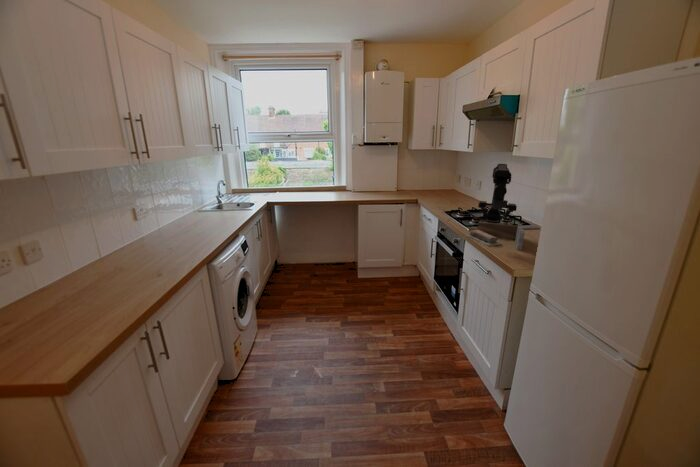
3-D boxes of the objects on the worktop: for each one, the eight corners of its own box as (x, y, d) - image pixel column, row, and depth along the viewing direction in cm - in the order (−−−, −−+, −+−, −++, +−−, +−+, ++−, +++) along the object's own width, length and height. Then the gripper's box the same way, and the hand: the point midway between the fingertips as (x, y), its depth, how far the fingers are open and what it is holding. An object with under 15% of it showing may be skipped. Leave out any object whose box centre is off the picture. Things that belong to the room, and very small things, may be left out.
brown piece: (476, 233, 192) (479, 218, 189) (518, 238, 183) (521, 223, 180) (475, 244, 174) (477, 227, 171) (521, 250, 165) (524, 233, 162)
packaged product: (467, 229, 185) (480, 228, 189) (466, 237, 187) (479, 235, 190) (488, 239, 169) (502, 237, 172) (487, 247, 171) (501, 245, 174)
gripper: (480, 194, 159) (475, 222, 164) (519, 197, 152) (514, 226, 157) (480, 190, 169) (476, 217, 174) (518, 193, 162) (512, 221, 167)
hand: (494, 220), depth 168 cm, fingers open, 9 cm apart
